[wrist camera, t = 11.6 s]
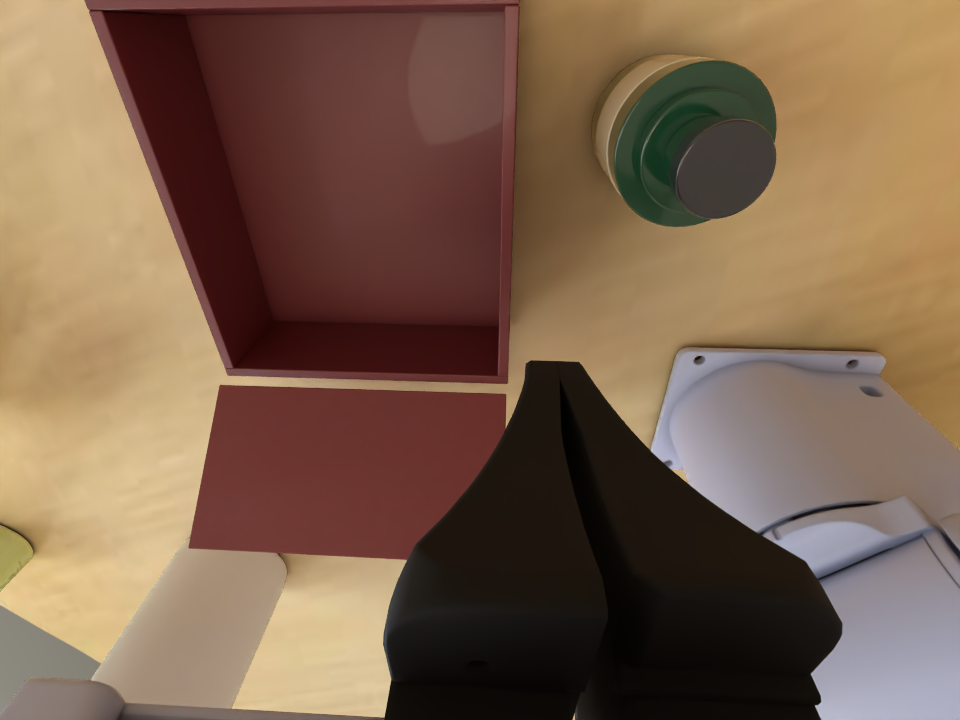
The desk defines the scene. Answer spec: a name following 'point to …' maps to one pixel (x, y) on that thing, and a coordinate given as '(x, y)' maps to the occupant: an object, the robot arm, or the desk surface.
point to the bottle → (686, 138)
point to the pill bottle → (196, 629)
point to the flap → (339, 468)
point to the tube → (12, 555)
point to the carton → (333, 175)
